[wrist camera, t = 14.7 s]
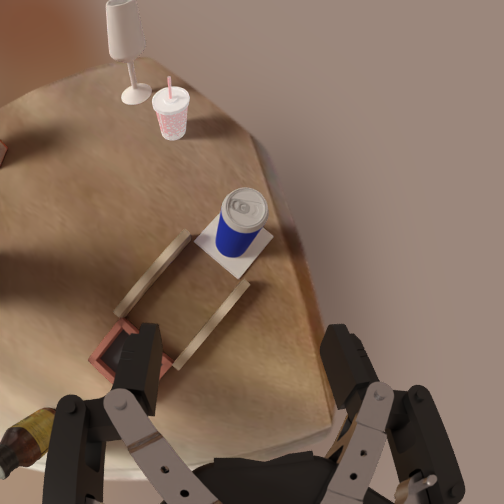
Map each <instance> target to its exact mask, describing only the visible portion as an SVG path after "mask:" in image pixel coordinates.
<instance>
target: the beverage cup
mask: <svg viewBox="0 0 504 504" xmlns="http://www.w3.org/2000/svg"><path fill="white" fill-rule="evenodd" d="M189 99H190V96H189V94H188V92H187V91H186V90H185V89H183V88H180V87H171V76H168V87H167V88H163V89H161V90H160V91H158V92H157V93H156V94H155V95H154V96H153V99H152V104H153V108H154V110H155V111H156V114H157V117H158V121H159V125H160V129H161V132H162V136H163V137H164V138H165V139H168V140H177V139H180V138H181V137H183V135H184V134H185V131H186V120H187V107H188V105H189Z"/></svg>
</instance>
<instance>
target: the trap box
mask: <svg viewBox="0 0 504 504" xmlns="http://www.w3.org/2000/svg"><path fill="white" fill-rule="evenodd" d="M131 333H136V334H139V330H138V329H137V328H136V327H135V326H134V325H133V324H132V323H131V322H130V321H128V320H127V319H126V318H125V317H121V318H120V319H119V320H118V321H117V323H116V324H115V325H114V326H113V328H112V329H111V330H110V331H109V333H108V334H107V335H106V336H105V338H104V339H103V340H102V342H101V343H100V344H99V345H98V347H97V348H96V349H95V351H94V352H93V353H92V355H91V356H90V357H89V359H88V361H89V362H90V363H91V364H92V365H93V366H94V367H95V368H96V369H97V370H98V371H99V372H100V373H101V374H102V375H103V376H104V377H105V378H106V379H107V380H109V381H110V382H111V383H112V384H113V383H114V379H115V375H116V371H117V367H118V363H119V360H120V356H121V352H122V348H123V345H124V341H125V340H126V339H127V338H128V336H129V335H130V334H131ZM173 363H174V360H173V359H171V358H170V357H169V356H168V355H167V354H165V353H164V352H163V356H162V363H161V370H160V377H159V380H160V378H161V377H162V376H163V375H164V374H165V373H166V371H167V370H168V369H169V368H170V367H171V365H172V364H173Z"/></svg>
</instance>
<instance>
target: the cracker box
mask: <svg viewBox="0 0 504 504" xmlns="http://www.w3.org/2000/svg"><path fill="white" fill-rule="evenodd" d="M7 149H8V148H7V146H6V145H5V144H4V143H3V142H2V141H1V140H0V166H1V163H2V161H3V158H4V156H5V154H6V151H7Z"/></svg>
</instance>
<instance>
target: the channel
mask: <svg viewBox="0 0 504 504" xmlns="http://www.w3.org/2000/svg"><path fill="white" fill-rule="evenodd" d="M190 241H191V234H190V233H189V232H188V231H187V230H186V229H184V230H183V231H182V232H181V233H180V234H179V235H178V236H177V237H176V238H175V239H174V241H173V242H172V243H171V244H170V245H169V246H168V247H167V248H166V249H165V251H164V252H163V253H162V254H161V255H160V256H159V257H158V258H157V260H156V261H155V262H154V263H153V264H152V265H151V266H150V268H149V269H148V270H147V271H146V272H145V273H144V275H143V276H142V277H141V278H140V279H139V280H138V282H137V283H136V284H135V285H134V286H133V288H132V289H131V290H130V291H129V292H128V294H127V295H126V296H125V297H124V298H123V300H122V301H121V302H120V303H119V305H118V306H117V307H116V308H115V310H114V311H113V312H114V313H115V314H116V315H117V316H118V317H126V316H127V314H128V313H129V312H130V311H131V309H132V308H133V307H134V306H135V305H136V303H137V302H138V301H139V300H140V299H141V297H142V296H143V295H144V294H145V293H146V291H147V290H148V289H149V288H150V287H151V285H152V284H153V283H154V282H155V281H156V280H157V278H158V277H159V276H160V275H161V274H162V273H163V271H164V270H165V269H166V268H167V267H168V266H169V265H170V263H171V262H172V261H173V260H174V259H175V258H176V257H177V256H178V254H179V253H180V252H181V251H182V250H183V249H184V248H185V247H186V245H187V244H188V243H189V242H190ZM249 286H250V283H248V282H247V281H246V280H245V279H243V280H242V281H241V282H240V283H239V284H238V285H237V287H236V288H235V289H234V290H233V292H232V293H231V294H230V295H229V296H228V298H227V299H226V300H225V301H224V302H223V304H222V305H221V306H220V307H219V308H218V310H217V311H216V312H215V313H214V314H213V316H212V317H211V318H210V319H209V320H208V322H207V323H206V324H205V325H204V326H203V328H202V329H201V330H200V331H199V332H198V334H197V335H196V336H195V337H194V338H193V340H192V341H191V342H190V343H189V344H188V346H187V347H186V348H185V349H184V350H183V352H182V353H181V354H180V355H179V356H178V357H177V359H176V360H175V361H174V363H173V364H172V366H174V367H175V368H176V369H177V370H180V369H181V368H182V366H183V365H184V364H185V363H186V362H187V360H188V359H189V358H190V357H191V356H192V355H193V353H194V352H195V351H196V350H197V349H198V347H199V346H200V345H201V344H202V343H203V341H204V340H205V339H206V338H207V337H208V335H209V334H210V333H211V332H212V331H213V329H214V328H215V327H216V326H217V325H218V323H219V322H220V321H221V320H222V319H223V317H224V316H225V315H226V314H227V312H228V311H229V310H230V309H231V308H232V306H233V305H234V304H235V303H236V302H237V300H238V299H239V298H240V297H241V295H242V294H243V293H244V292H245V291H246V289H247V288H248V287H249Z"/></svg>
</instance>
